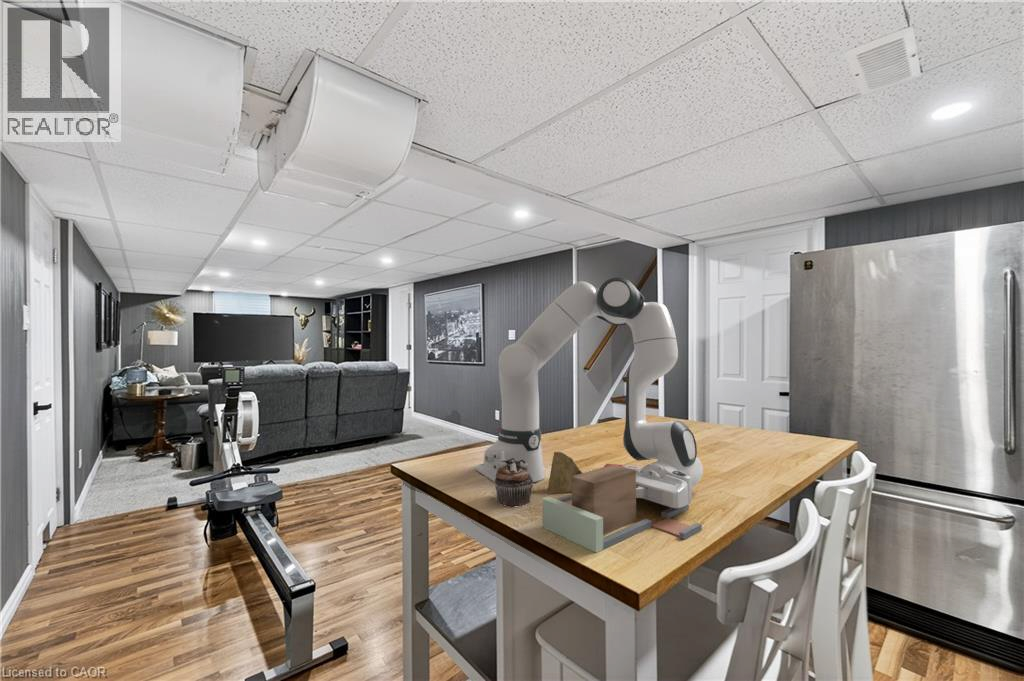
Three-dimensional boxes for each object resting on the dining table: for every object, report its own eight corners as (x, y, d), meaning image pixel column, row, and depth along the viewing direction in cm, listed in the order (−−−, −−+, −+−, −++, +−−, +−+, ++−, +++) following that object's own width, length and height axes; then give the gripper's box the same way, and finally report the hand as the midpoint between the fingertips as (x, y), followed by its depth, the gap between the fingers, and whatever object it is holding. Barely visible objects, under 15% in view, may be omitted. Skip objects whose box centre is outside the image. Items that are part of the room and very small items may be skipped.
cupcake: (486, 503, 104) (486, 462, 104) (508, 491, 112) (508, 453, 112) (519, 511, 99) (519, 468, 99) (540, 498, 107) (540, 458, 107)
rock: (589, 475, 119) (554, 468, 121) (591, 455, 113) (554, 448, 116) (583, 510, 110) (545, 501, 113) (585, 490, 105) (545, 482, 108)
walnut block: (571, 529, 89) (571, 476, 89) (613, 512, 98) (613, 464, 98) (594, 539, 85) (594, 483, 85) (636, 520, 93) (635, 470, 94)
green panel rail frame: (519, 516, 96) (519, 489, 96) (612, 485, 117) (612, 463, 117) (630, 569, 73) (630, 534, 73) (721, 519, 94) (720, 492, 94)
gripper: (622, 459, 113) (588, 469, 104) (697, 478, 97) (664, 491, 88) (622, 483, 113) (588, 495, 104) (697, 505, 97) (664, 522, 88)
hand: (623, 493), depth 96 cm, fingers closed, pressing on walnut block
